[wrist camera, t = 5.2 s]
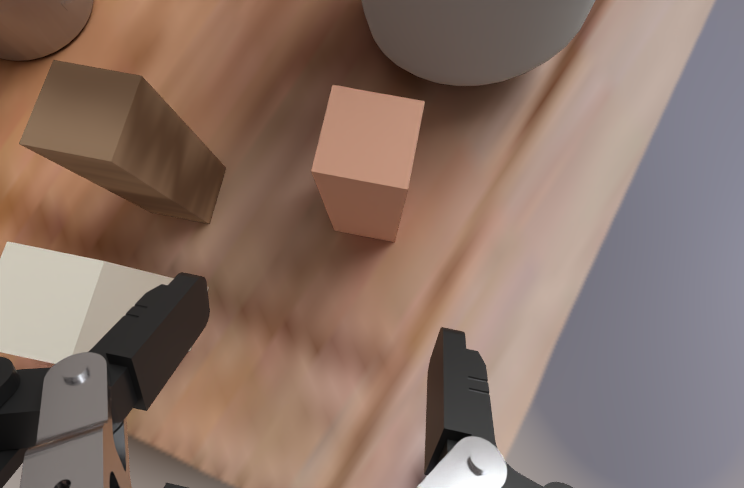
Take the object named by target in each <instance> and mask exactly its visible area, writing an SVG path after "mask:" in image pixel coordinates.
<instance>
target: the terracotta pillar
mask: <svg viewBox="0 0 744 488" xmlns="http://www.w3.org/2000/svg"><path fill="white" fill-rule="evenodd" d="M424 104H425V101H421V100H415V99H409V98H404V97H398V96H393V95H387V94H381V93H376V92H370V91H365V90H359V89H353V88H348V87H342V86H337V85H332V89H331V93H330V97H329V101H328V105H327V109H326V113H325V117H324V121H323V125H322V129H321V133H320V137H319V141H318V145H317V149H316V153H315V158H314V162H313V166H312V170H311V172H312V175H313V177H314V180H315V182H316V185H317V188H318V190H319V193H320V195H321V198H322V200H323V203H324V205H325V208H326V210H327V213H328V216H329V218H330V221H331V223H332V226H333V228H334V230H335V231H340V232H345V233H350V234H355V235H360V236H365V237H371V238H376V239H381V240H386V241H391V242H395V239H396V235H397V231H398V227H399V223H400V219H401V215H402V211H403V208H404V204H405V200H406V196H407V192H408V187H409V182H410V177H411V172H412V166H413V161H414V156H415V151H416V145H417V140H418V135H419V130H420V125H421V119H422V114H423V109H424Z"/></svg>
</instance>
